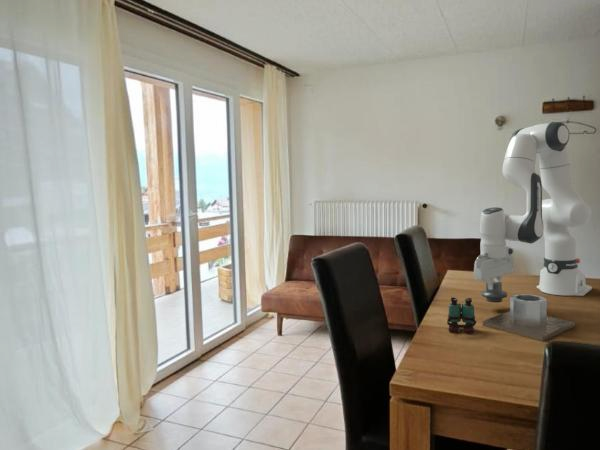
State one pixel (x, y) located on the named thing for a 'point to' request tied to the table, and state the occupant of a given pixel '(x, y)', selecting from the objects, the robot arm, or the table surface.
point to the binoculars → (456, 315)
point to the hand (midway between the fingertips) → (494, 288)
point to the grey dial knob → (494, 293)
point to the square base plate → (529, 318)
